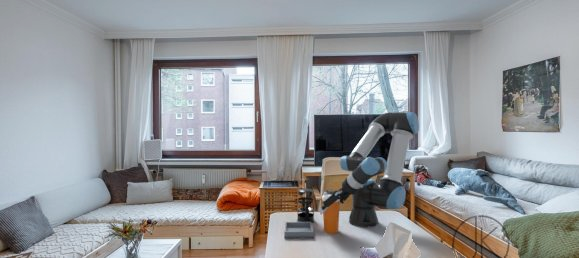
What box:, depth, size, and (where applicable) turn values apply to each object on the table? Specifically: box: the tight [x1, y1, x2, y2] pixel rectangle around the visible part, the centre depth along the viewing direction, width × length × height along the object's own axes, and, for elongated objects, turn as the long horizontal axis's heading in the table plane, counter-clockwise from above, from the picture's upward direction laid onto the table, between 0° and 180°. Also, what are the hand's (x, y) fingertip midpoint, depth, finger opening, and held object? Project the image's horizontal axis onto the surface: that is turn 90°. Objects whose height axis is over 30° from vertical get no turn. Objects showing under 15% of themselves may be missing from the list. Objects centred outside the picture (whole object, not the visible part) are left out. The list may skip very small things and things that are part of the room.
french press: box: [296, 178, 315, 224], centre depth 163 cm, size 12×9×23 cm
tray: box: [284, 221, 314, 239], centre depth 146 cm, size 14×14×3 cm
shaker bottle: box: [321, 189, 340, 234], centre depth 148 cm, size 9×9×20 cm
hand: (325, 210), depth 150 cm, fingers closed on shaker bottle, 9 cm apart
